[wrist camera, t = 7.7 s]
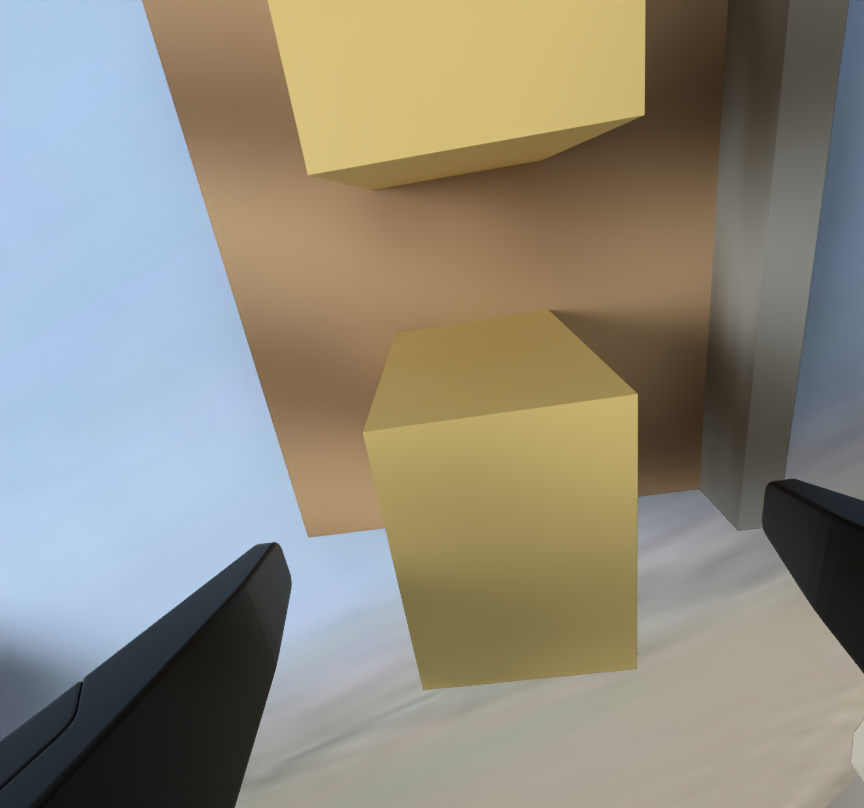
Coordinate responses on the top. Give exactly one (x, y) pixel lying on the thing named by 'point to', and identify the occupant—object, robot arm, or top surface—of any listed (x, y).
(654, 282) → the shelf board
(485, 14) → the tea box
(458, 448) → the tea box turned
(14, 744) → the robot arm
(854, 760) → the french press
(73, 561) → the top surface
